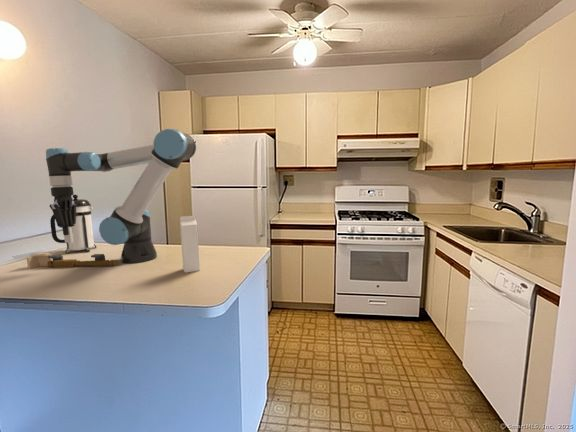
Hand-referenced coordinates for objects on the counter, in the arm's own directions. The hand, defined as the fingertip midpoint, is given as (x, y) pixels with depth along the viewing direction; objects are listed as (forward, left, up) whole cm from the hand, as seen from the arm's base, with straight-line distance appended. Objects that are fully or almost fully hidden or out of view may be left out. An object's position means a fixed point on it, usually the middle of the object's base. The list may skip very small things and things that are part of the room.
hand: (69, 242), depth 133 cm
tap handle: (-3, -2, -12) cm, 12 cm away
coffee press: (+20, -31, -12) cm, 39 cm away
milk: (-53, +6, -12) cm, 55 cm away
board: (+3, -3, -11) cm, 12 cm away
